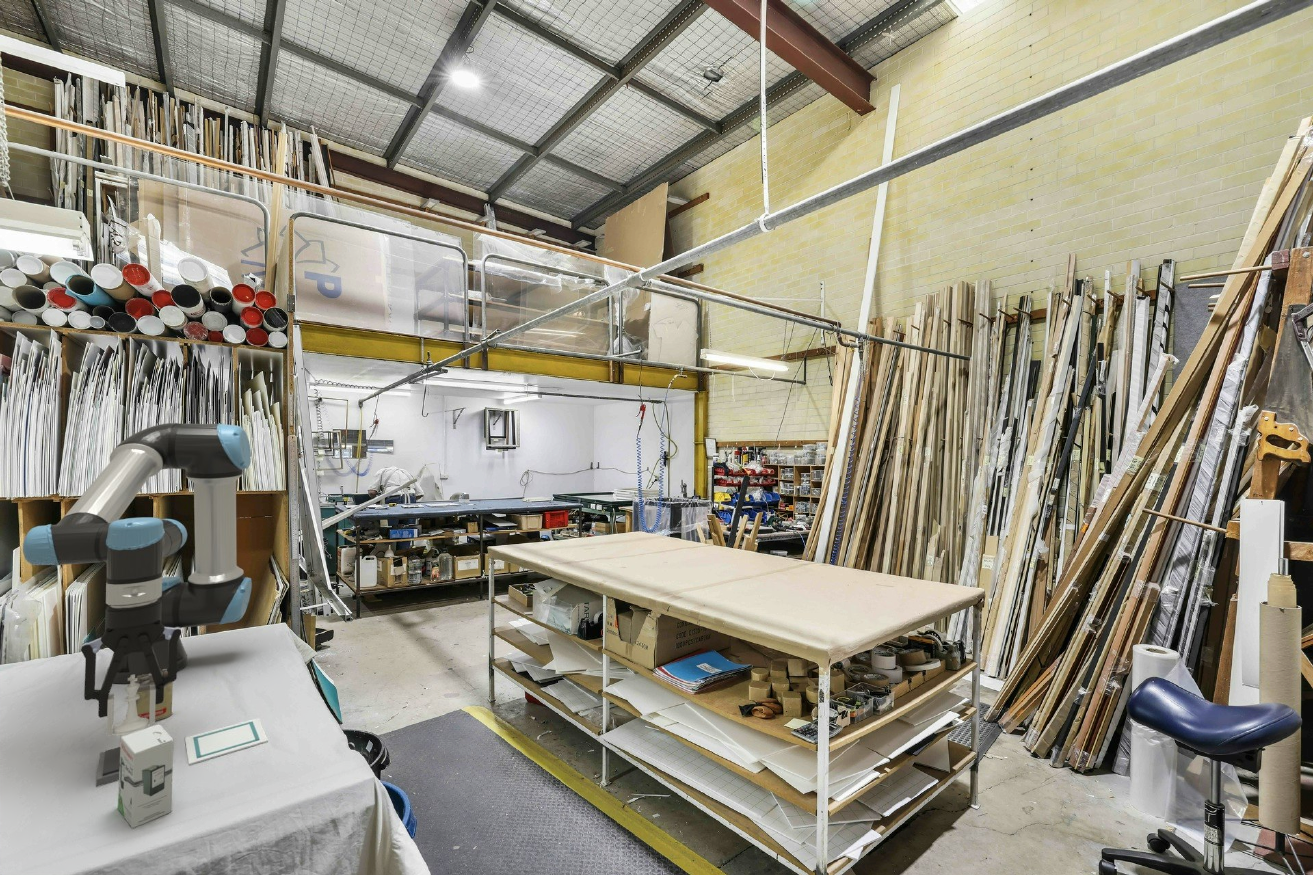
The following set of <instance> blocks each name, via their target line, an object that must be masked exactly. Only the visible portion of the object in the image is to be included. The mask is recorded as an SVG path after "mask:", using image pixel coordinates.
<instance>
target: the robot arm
mask: <svg viewBox="0 0 1313 875" xmlns="http://www.w3.org/2000/svg"><path fill="white" fill-rule="evenodd" d="M251 456H252V450H251V444H250V440H249V436H248V434H247V432H246V430H245V429H244V428H243V427H241V426H239V425H236V424H234V425H233V424H224V423H178V422H168V423H162V424H157V425H152V426H150V427H146V428H144V429H142V430H140V431H137V432H136V433H134V434H132V435H130V436H129V437H126V438H125V439H124V440H122V441H120V443H119V444H118V445H117V446H115V448H114V449H113V450H112V451H111V453H110V455H109V463H108V464H107V465H106V467H105V468H104V469H103V470H102V471H101V473H100V474H99V475H98V476H97V477H96V478H95V480H94V481H93V482H92V483H91V484H90V485H89V487H88V488H87V489H86V490H85V491H84V492H83V493H82V495H81V496H80V497H79V498H78V499H77V501H76V502H75V503H74V504H73V506H71V508H70V509H69V510H68V511H67V512H66V514H65V515H63V517H62V518H61V519H60V521H59V522H57V523H56V524H51V523H50V524H47V525H45V524H44V525H38V526H35V527H32V528H31V529H30V530H29V531H28V532H27V533H26V535H25V537H24V538H23V539H24V540H23V543H22V553H23V556H24V559H25V561H26V562H27V563H29V564H30V565H33V566H62V565H63V566H64V565H77V564H90V563H91V564H92V563H95V564H96V563H103V562H104V563H106V580H105V581H106V582H105V584H106V585H105V591H106V592H105V604H106V605H108V606H107V607H106V608H105V619H104V620H105V621H104V622H105V623H104V624H105V626H104V631H103V633H102V634H101V635H100V636H101V637H99V638H97V639H94V640H92V641H85V642H83V643H82V645H81V648H80V651H81V653H82V655H83V657H84V659H85V664H84V665H85V666H84V667H85V668H84V691H83V692H84V694H83V698H84V700H85V701H90V700H95V701H98V713H97V716H98V717H99V718H100V719H101V718H105V717H106V718H107V719H106V737H109V736H113V735H114V734H113V729H114V716H115V715H114V714H115V713H114V712H115V711H114V710H115V693H110V692H111V689H112V687H113V684H130V681H128V678H130V675H133V674H135V678H137V676H140V675H147V674H151V675H152V678H153V680H154V683H155V685H151V686H150V713H149V726H153V725H156V721H155V705H156V704H160V703H162V702H163V700H164V686H165V685H166V684H167V683H169V682H173V683H174V682H175V681H176V680H177V679H178V677H177V676H178V671H180V670H182V669H184V668H185V667H186V666H187V664H188V654H187V651H186V649H185V647H184V644H183V642H182V640H181V638H180V637H181V635H182V629H183V628H193V627H203V626H214V625H223V624H231V623H236V622H238V621H240V620H241V619H243V616H245V614H246V611H247V608H248V605H249V602H250V598H251V592H252V587H253V586H252V585H253V584H252V578H251V577H248V576H246V577H245V576H244V575H245V574H244V572H245V571H244V569H242V567H241V568H240V567H239V566H238V565H237V564H238V563H237V480H239V479H240V477H242V476H243V473H244V470H246V469H249V467H250V466H251V462H252V459H251ZM170 469H172V470H173V469H175V470H181V469H182V470H185V477H186V478H187V479H188V480H189V481H191V482H192V483H193V498H194V500H193V502H194V503H193V504H194V505H193V508H194V510H193V511H194V514H193V515H194V547H195V548H194V556H195V557H194V559H195V561H194V562H195V563H194V564H195V565H194V566H195V571H193V573H191V574H190V575H189V576H188V577H187V578H188V579H187V582H186V581H185V582H184V581H183V580H182V578H181V577H180V576H178V575H177V576H166V577H165V576H164V577H163V564H164V563H163V559H165V558H167V557H169V556H172V555H174V554H175V553H177V552H178V551H179V550H180V549H181V548H182V547H183V546H184V545H185V543H186V542H187V539H188V532H187V528H186V527H185V526H184V524H182V523H181V522H180V521H178V520H176V519H171V518H162V519H160V518H158V517H147V516H146V517H130V518H125V519H121V517H122V515H123V514H124V513H125V511H126V510H127V509H128V507H129V506H130V504H131V503H132V502H133V500H134V499H135V497H136V496H137V495H138V493H139V492H140V490H141V489H142V488H143V487H144V485H145V484H146V482H147V481H148V479H149V478H151V477H153V476H156V475H157V474H158V473H160V471H161V470H170ZM181 628H182V629H181ZM102 645H104V646H106V647H107V648H108V649H109V650H111V651H112V653H113V655H112V656H111V660H110V662H109V665H108V668H107V671H106V673H105V676H104V680H103V682H102V684H101V688H100V689H96V668H97V667H96V665H97V653H98V652H99V651H100V649H101V646H102ZM163 669H167V672H168V674H167V675H165V676H162V673H161V671H162V670H163ZM144 681H148V680H143V681H142V682H144ZM136 682H137V681H135V683H136Z"/></svg>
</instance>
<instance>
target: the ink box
mask: <svg viewBox="0 0 1313 875" xmlns="http://www.w3.org/2000/svg"><path fill="white" fill-rule="evenodd" d="M174 742H175V741H174V739H173V737H172V736H171V735H170V734H169V733H168V731H166V729H165V728H164V727H163V726H162V725H161V724H154V725H151V726H148V727H146V728H145V729H143V730H140V731H137V732H134V733H131V734H128V735H121V736H120V746H119V747H120V770H119V780H118V794H117V795H118V798H117V799H118V800H117V809H118V810H119V811H120V813H121V815H122V816H123V817H124V819H125V820H126V822H127V823H128V824H129V826H130V827H131V829H134V828H137V827H138V826H141V825H144V824H147V823H149V822H151V821H154V820H155V819H158V818H161V817H162V816H165V815H167V814H169V813H172V809H173V807H172V804H173V773H174V772H173V771H174V769H173V768H174V766H173V765H174Z"/></svg>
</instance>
